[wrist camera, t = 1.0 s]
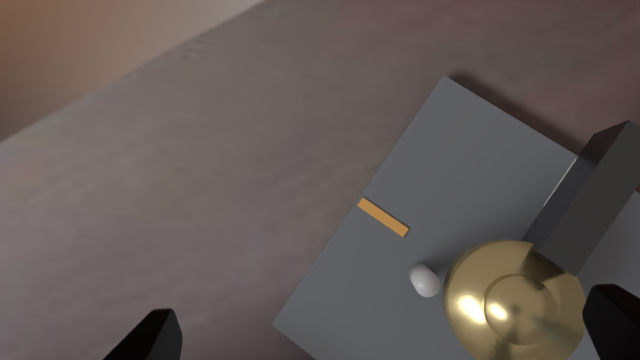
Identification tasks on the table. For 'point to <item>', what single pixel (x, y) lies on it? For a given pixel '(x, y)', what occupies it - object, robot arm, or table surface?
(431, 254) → the socket base
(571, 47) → the table surface
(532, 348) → the brass dome with handle
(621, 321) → the robot arm
